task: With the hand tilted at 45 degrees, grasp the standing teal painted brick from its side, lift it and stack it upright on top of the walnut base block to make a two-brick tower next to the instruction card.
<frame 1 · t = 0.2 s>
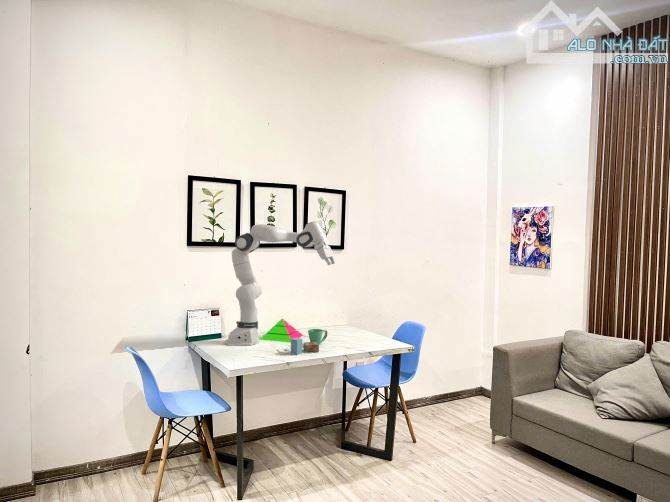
hand: (331, 264, 300), 54 cm above the table, tool tilted 30°, fingers open, 8 cm apart
pyramid toy: (281, 338, 332), on the table
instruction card: (286, 350, 296), on the table
mug: (318, 345, 312), on the table
base block: (311, 351, 296), on the table
teal brick: (296, 353, 289), on the table
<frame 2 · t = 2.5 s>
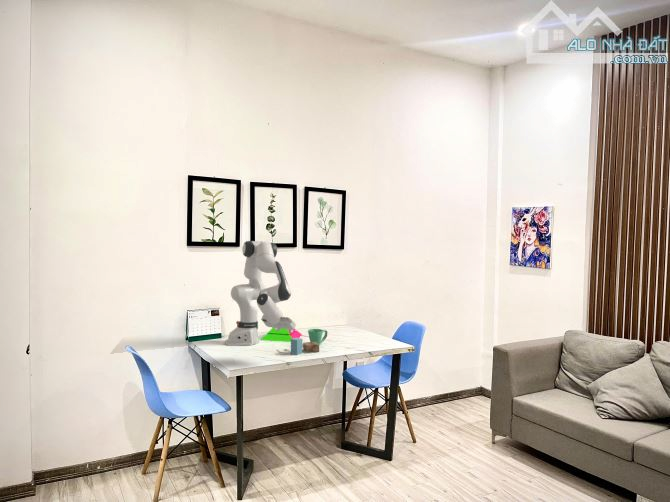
hand: (285, 331, 279), 16 cm above the table, tool tilted 45°, fingers open, 8 cm apart
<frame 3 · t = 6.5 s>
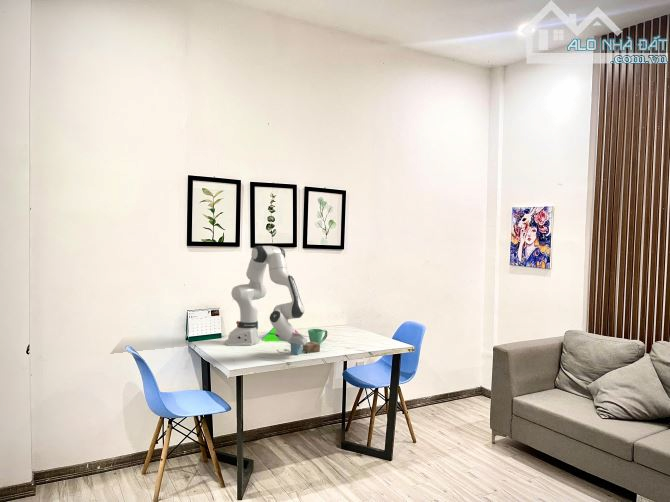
hand: (297, 345, 290), 5 cm above the table, tool tilted 45°, fingers closed on teal brick, 5 cm apart
teal brick: (296, 353, 289), on the table, touching gripper
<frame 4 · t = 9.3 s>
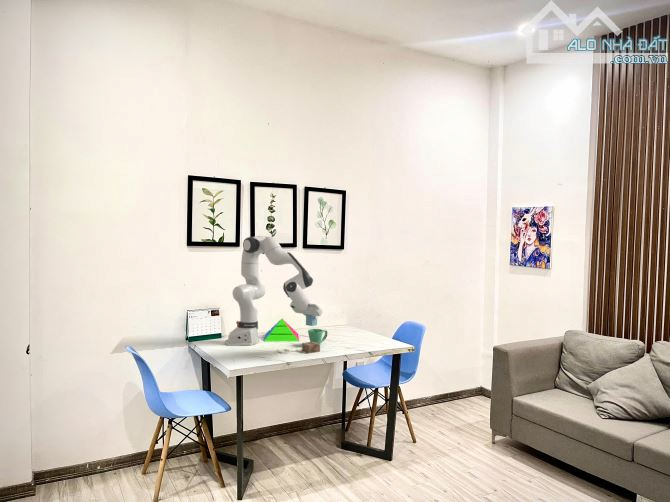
hand: (312, 317, 296), 21 cm above the table, tool tilted 45°, fingers closed on teal brick, 5 cm apart
teal brick: (311, 325, 295), point 16 cm above the table, touching gripper
when the fingers open (11 cm above the table, at t = 12.0 s): teal brick drops 2 cm, resting on base block.
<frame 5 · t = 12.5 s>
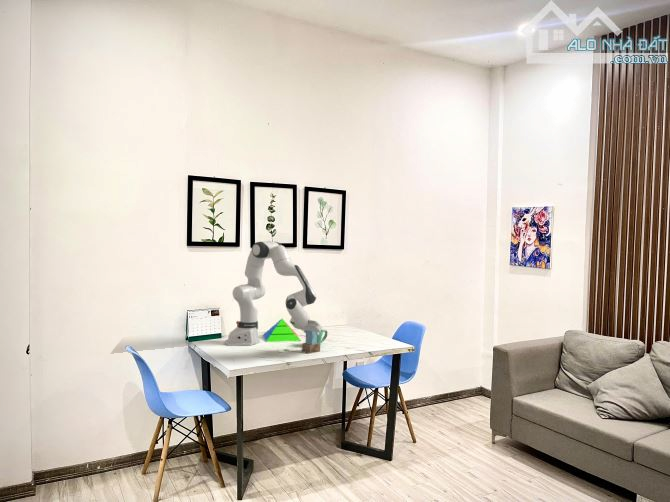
hand: (312, 332, 296), 11 cm above the table, tool tilted 45°, fingers open, 8 cm apart
base block: (311, 351, 296), on the table, touching teal brick
teal brick: (311, 343, 296), point 5 cm above the table, touching base block
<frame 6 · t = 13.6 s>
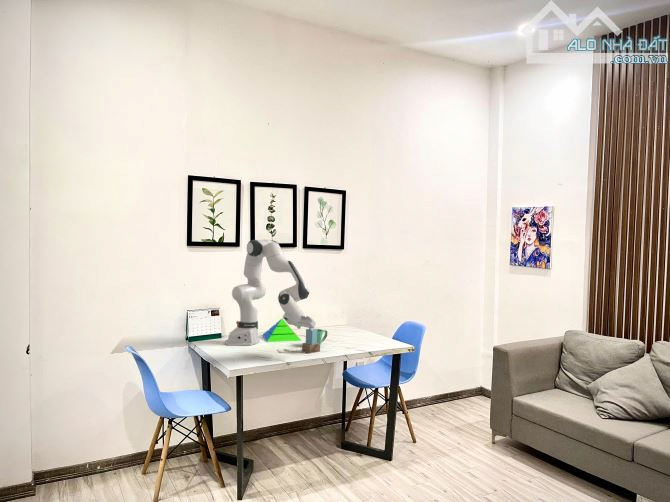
hand: (305, 328, 290), 15 cm above the table, tool tilted 45°, fingers open, 8 cm apart
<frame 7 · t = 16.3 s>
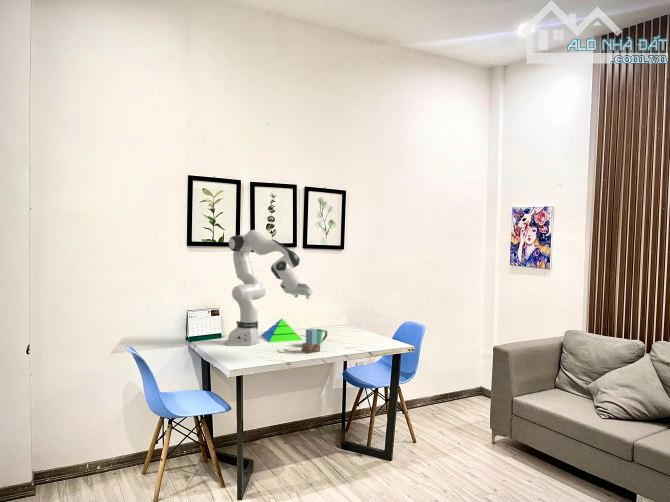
hand: (302, 297, 295), 33 cm above the table, tool tilted 45°, fingers open, 8 cm apart
at the end: teal brick 0.3 cm off-centre on the base block, point 5.0 cm above the base block's base; teal brick tilted 0°; the gripper is holding nothing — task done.
